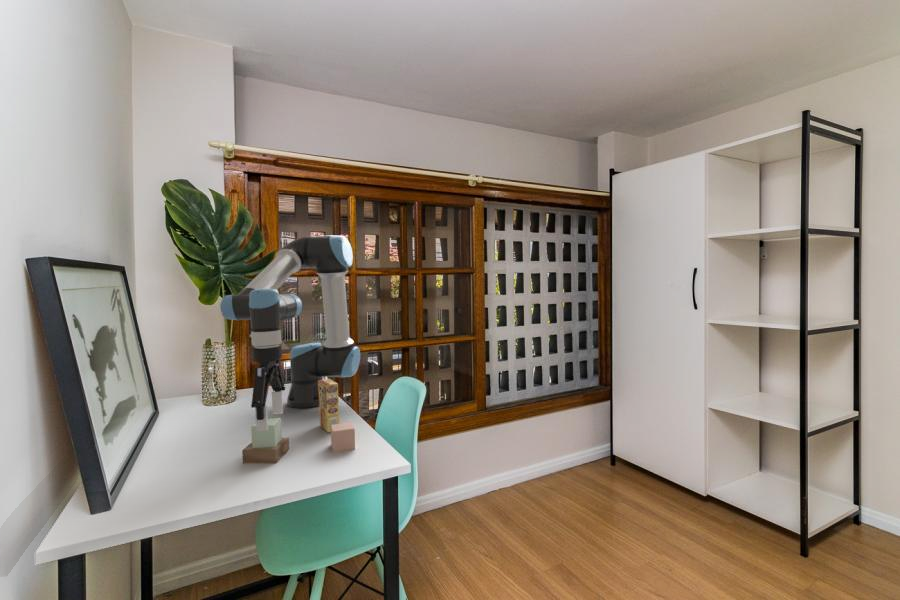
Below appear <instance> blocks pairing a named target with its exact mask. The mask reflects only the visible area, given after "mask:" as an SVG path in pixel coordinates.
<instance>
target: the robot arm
mask: <svg viewBox="0 0 900 600" xmlns="http://www.w3.org/2000/svg"><path fill="white" fill-rule="evenodd" d="M353 260H354V253H353V249H352V246H351V243H350V242H349V239H347V237H345V236H343V235H333V234H331V235H313V236H310V235H309V236H308V235H307V236H301V237H299V238H296V239H294V240H292V241H290V242H289V243H287V244H285V245H284V246H283V247H281V248H280V249H279V250H278V251H277V252H276V254H275V256H274V259H273V260H272V261H271V262H270V263H269V264H268V265H267V266H266V267H264V269H263V270H261V272H260V273H258V274H257V275H256V276H255V277H254V278H253V279H252V280H251V281H250V282H249V283H248V284H247V285H246V286H245V287H244V288H243V289H241V290H240V291H239V292H238V294H234V293H233V294H228V295H225V296H224V297H222V299H221V301H220V307H219V309H220V312H221V315H222V317H224V319H226V320H230V321H231V320H232V321H233V320H234V321H250V334H249V337H250V338H251V346H253V347H252V348H251V357H252V359H251V360H252V361H253V362H255V363H259V367H257V368H256V367H255V368H254V377H253V379H254V380H253V381H254V382H253V387H252V388H253V389H252V396H251V397H252V398H251V404H250V407H251V408H255V422H256V431H268V419H269V417H268V405H266V403H267V399H268V398H267V397H268V393H269V387H271V389H272V391H271V401H272V402H271V403H272V405H271V406H272V415H283V414H284V405H283V402H284V401H283V400H284V399H283V391H286V386H285V382H284V378H283V373H282V369H281V362H280V361H281V359H282V358H283V353H282V351H283V350H282V346H281V344H282V329H281V321H285V320H292V319H293V318H296V317H298V316H299V315H300V313H301V312H302V310H303V303H302V300H301V298H300V297H299V296H298V295H297V294H294V293H282V294H281V293H279V288H280V287H281V286H282V285H283V284H284V283H285V282H286V281H287V280H288V279H289V278H290V276H292V274H295V273H297V272H299V271H300V270H301V269H308V268H310V269H311V268H315V273H316V275H318V276H319V277H320V284H321V293H322V294H321V295H322V303H323V304H322V307H323V314H324V315H323V316H324V326H325V337H326V338H325V341H324V342H323V343H321V342H319V341H317V342H309V343H304V344H299V345H296V346H295V345H294V346H293V347H292V348H291V349H290V353H289V360H290V361H289V362H290V381H291V382H290V388H289V392H288V394H287V395H288V396H287V399H286V405H287V407H290V408H293V409H308V408H315V407H319V393H318V380H323V378H350V377H353V376H355V375H356V374H357V371H358V370H359V366H360V363H361V350H360V347H359V346H357V345H356V346H355V341H354V339H353V338H351V337H350V330H349V329H350V328H349V327H350V326H349V317H348V302H347V301H348V300H347V290H346V288H347V287H346V277H345V276H346V275H347V274H348V273H349V268H350V267H351V266H353V262H354V261H353Z"/></svg>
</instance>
